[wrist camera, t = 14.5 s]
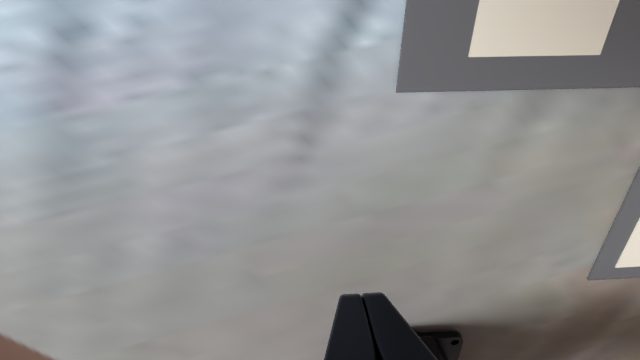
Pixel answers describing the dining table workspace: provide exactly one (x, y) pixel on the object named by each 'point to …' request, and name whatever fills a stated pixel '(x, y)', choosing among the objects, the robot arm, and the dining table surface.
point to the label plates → (531, 69)
